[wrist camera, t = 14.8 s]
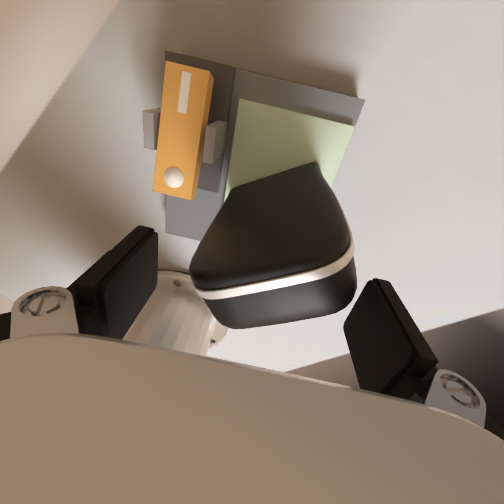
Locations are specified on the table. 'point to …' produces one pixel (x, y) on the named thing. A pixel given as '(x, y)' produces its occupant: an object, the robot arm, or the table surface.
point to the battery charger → (276, 252)
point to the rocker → (182, 129)
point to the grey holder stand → (255, 137)
